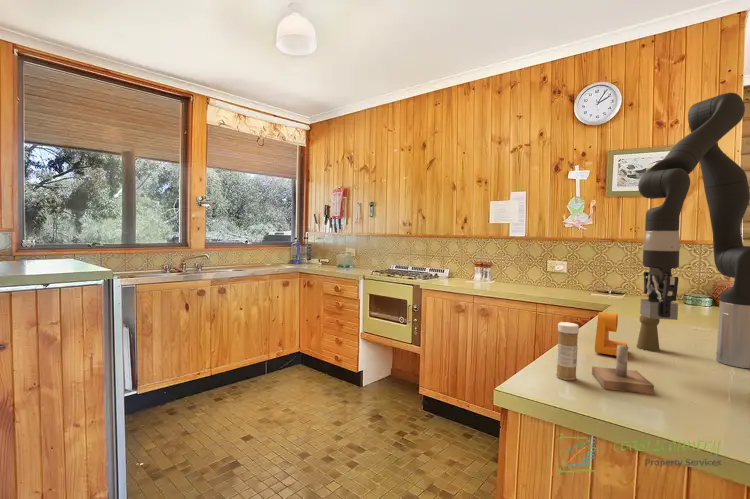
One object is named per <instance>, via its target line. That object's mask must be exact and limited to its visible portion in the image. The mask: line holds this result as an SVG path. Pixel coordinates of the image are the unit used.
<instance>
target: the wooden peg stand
mask: <svg viewBox="0 0 750 499" xmlns="http://www.w3.org/2000/svg"><path fill="white" fill-rule="evenodd" d="M628 352H629V346H628V345H627V346H624V345H617V356H616V361H615V363H616V364H615V367H614V368H612V367H603V366H602V367H601V366H593V365H592V366H591V375H592V376H593V378H594V379H595V380H596V382H598V384H599V385H600V386H601V387H602V389H604V390H611V391H612V390H613V391H620V392H629V393H637V394H640V393H641V394H647V395H655V389H654V388H655V385H654V384H653V383H652V382H650V381H649V380H648V379H647V378H646V377H645V376H643V375H642V374H641V373H640V372H639V371H638V370H633V369H628V358H629V357H628V356H629V353H628Z"/></svg>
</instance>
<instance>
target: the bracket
mask: <svg viewBox="0 0 750 499" xmlns="http://www.w3.org/2000/svg"><path fill="white" fill-rule="evenodd" d="M618 315H619V314H618V313H612V312H611V313H610V312H603V311H599V312H598V314H597V323H596V325H597V326H596V330H595V331H596V332H595V343H594V353H597V354H598V353H599V354H602V355H610V356H613V355H614V357H617V345H624V346H627V347H628V342H625V341H619V340H613V339H610V338H609V336H610V335H609V332H612V333H617V330H618V323H619V316H618Z"/></svg>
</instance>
